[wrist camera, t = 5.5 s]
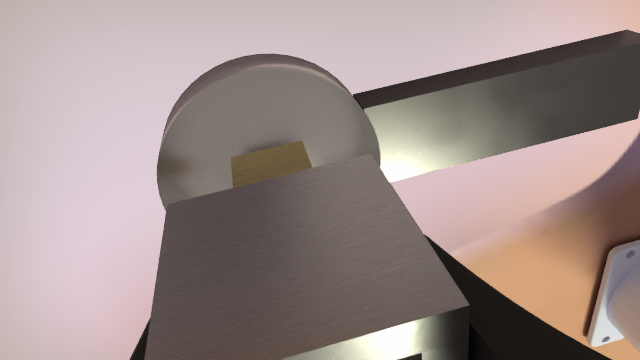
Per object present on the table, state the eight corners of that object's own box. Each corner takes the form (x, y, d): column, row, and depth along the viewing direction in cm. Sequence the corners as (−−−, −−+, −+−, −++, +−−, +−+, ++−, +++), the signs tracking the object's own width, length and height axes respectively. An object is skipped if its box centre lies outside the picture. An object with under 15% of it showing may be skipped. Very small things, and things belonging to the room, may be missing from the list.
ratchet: (639, -33, 16) (763, -16, 12) (601, 150, 20) (687, 203, 16) (127, 82, 14) (99, 139, 11) (199, 255, 18) (196, 339, 15)
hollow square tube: (370, 153, 11) (469, 304, 7) (386, 293, 14) (464, 464, 9) (167, 204, 10) (138, 399, 6) (225, 338, 13) (232, 538, 9)
